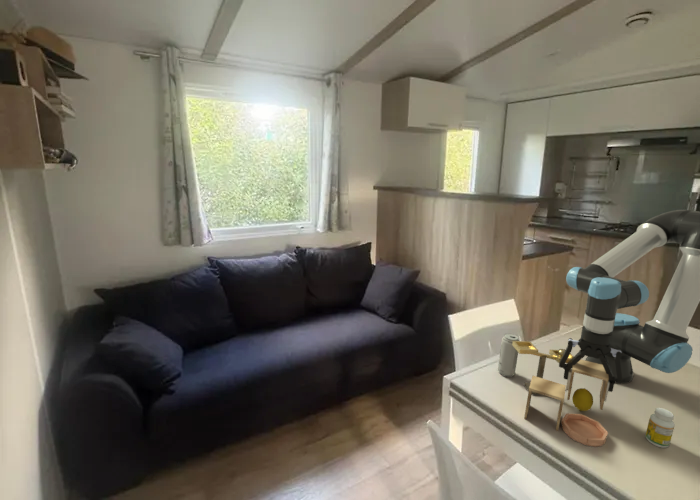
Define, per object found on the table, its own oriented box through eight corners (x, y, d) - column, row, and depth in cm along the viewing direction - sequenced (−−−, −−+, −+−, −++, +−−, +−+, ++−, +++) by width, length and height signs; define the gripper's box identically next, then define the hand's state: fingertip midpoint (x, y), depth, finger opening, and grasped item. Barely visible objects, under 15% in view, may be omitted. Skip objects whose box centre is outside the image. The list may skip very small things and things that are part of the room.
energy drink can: (498, 367, 140) (503, 331, 136) (515, 371, 137) (521, 335, 133) (496, 374, 134) (501, 337, 131) (513, 379, 132) (519, 342, 128)
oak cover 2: (601, 396, 116) (607, 366, 113) (602, 410, 109) (608, 378, 106) (568, 386, 121) (573, 357, 118) (567, 399, 114) (572, 369, 111)
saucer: (590, 420, 111) (591, 414, 111) (614, 447, 101) (616, 441, 100) (554, 418, 112) (555, 412, 111) (574, 445, 101) (576, 439, 100)
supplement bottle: (669, 451, 100) (677, 421, 98) (644, 441, 103) (652, 412, 101) (668, 440, 104) (676, 411, 102) (645, 431, 107) (652, 403, 105)
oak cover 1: (559, 415, 113) (565, 385, 110) (558, 431, 106) (564, 399, 104) (527, 404, 118) (532, 375, 115) (524, 418, 111) (529, 387, 109)
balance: (560, 386, 128) (568, 343, 124) (569, 396, 122) (578, 352, 118) (506, 383, 129) (512, 340, 125) (513, 394, 123) (520, 349, 119)
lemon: (593, 417, 113) (598, 395, 111) (574, 415, 114) (578, 392, 112) (586, 406, 118) (590, 384, 116) (567, 403, 119) (571, 382, 117)
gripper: (641, 332, 106) (627, 399, 112) (556, 315, 118) (547, 376, 123) (644, 343, 100) (629, 413, 106) (554, 324, 112) (545, 388, 117)
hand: (585, 393), depth 114 cm, fingers closed on oak cover 2, 9 cm apart
